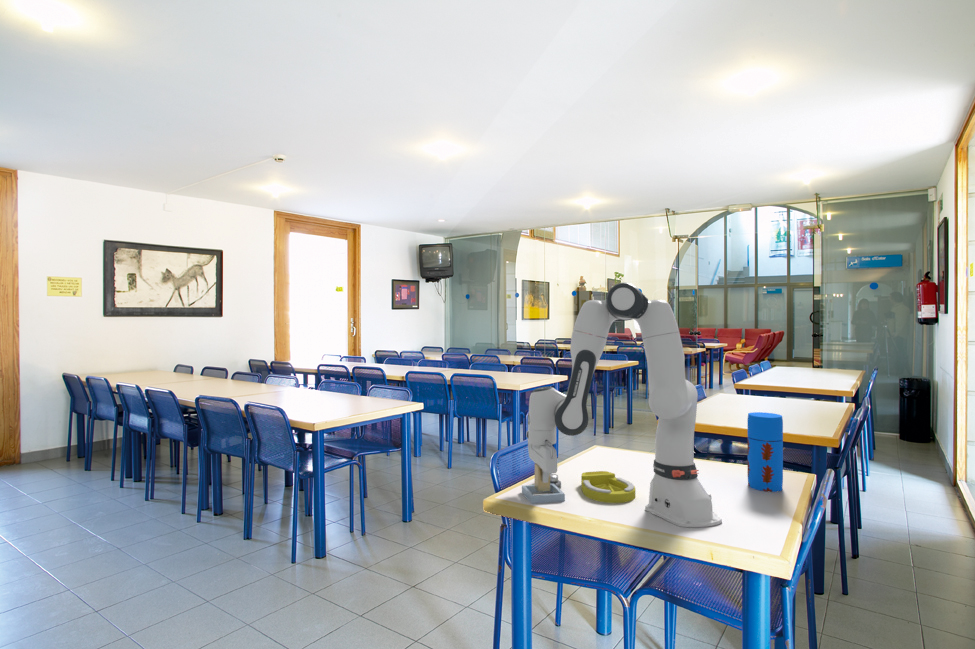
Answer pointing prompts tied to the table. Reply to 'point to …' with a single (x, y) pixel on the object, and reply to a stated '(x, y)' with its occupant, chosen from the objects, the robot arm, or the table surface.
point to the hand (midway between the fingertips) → (542, 479)
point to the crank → (553, 478)
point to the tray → (543, 498)
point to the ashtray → (606, 487)
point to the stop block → (540, 480)
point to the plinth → (557, 484)
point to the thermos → (765, 451)
